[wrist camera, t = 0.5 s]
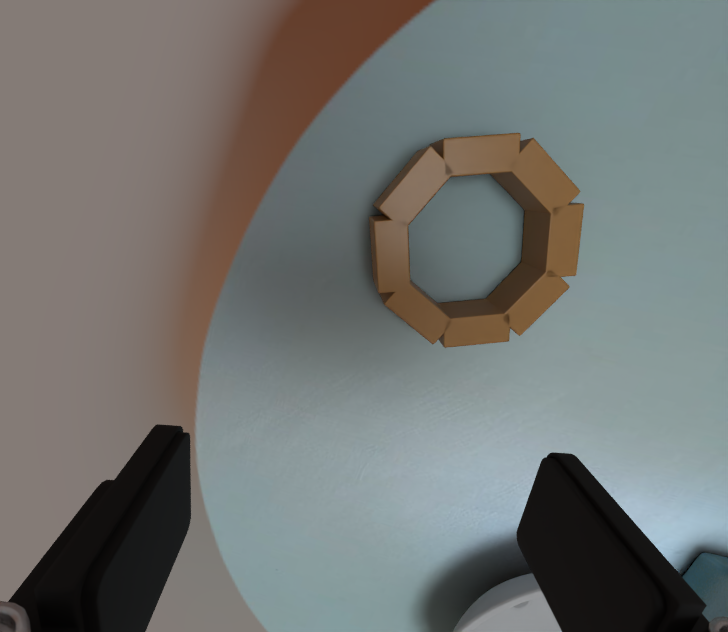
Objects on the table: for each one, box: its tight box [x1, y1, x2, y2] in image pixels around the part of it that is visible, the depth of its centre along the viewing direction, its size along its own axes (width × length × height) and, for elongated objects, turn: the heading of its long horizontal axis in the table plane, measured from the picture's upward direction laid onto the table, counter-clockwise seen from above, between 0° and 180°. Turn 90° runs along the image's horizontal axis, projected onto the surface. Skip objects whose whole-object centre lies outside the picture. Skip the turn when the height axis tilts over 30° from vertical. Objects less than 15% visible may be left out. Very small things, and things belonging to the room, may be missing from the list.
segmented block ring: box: [369, 133, 584, 347], centre depth 22 cm, size 11×11×3 cm
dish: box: [453, 573, 562, 632], centre depth 32 cm, size 18×14×5 cm
